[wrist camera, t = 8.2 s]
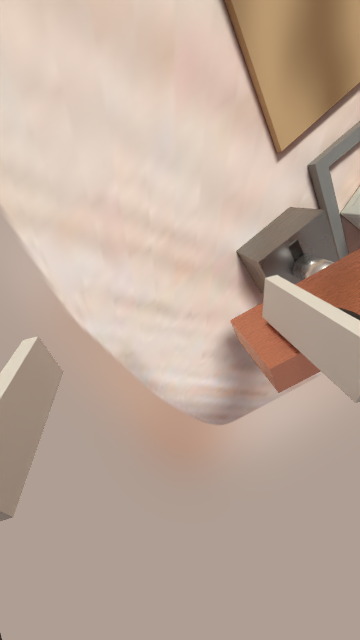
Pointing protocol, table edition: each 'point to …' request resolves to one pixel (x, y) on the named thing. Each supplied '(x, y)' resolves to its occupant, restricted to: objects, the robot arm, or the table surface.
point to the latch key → (275, 350)
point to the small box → (353, 209)
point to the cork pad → (298, 58)
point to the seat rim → (325, 185)
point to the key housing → (288, 245)
